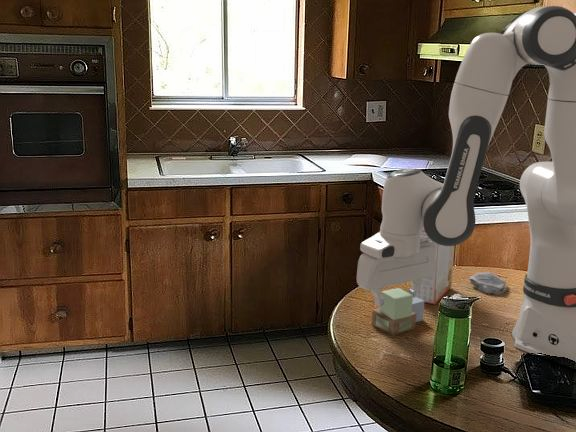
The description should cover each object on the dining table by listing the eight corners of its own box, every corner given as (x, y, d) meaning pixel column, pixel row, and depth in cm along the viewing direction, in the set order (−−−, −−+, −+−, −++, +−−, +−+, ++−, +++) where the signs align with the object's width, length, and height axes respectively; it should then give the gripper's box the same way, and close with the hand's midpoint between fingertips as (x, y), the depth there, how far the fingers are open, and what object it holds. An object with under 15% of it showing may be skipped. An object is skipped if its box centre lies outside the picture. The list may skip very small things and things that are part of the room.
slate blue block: (422, 320, 154) (424, 300, 153) (407, 325, 151) (409, 305, 150) (407, 313, 158) (409, 293, 157) (392, 317, 155) (394, 298, 154)
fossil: (514, 286, 170) (476, 276, 169) (509, 300, 170) (472, 291, 170) (501, 274, 181) (466, 266, 181) (496, 288, 181) (462, 279, 181)
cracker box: (430, 283, 177) (436, 209, 171) (451, 288, 174) (459, 212, 169) (411, 300, 165) (417, 221, 160) (434, 305, 162) (441, 225, 157)
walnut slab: (415, 329, 149) (416, 313, 148) (393, 337, 145) (394, 321, 144) (393, 318, 155) (394, 303, 154) (371, 326, 151) (372, 310, 150)
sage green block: (411, 315, 147) (412, 295, 146) (393, 320, 145) (395, 299, 143) (397, 307, 151) (398, 287, 150) (380, 311, 149) (381, 291, 147)
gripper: (425, 232, 151) (421, 288, 154) (354, 244, 140) (351, 304, 144) (445, 239, 145) (439, 297, 149) (372, 253, 135) (368, 314, 139)
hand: (395, 300), depth 146 cm, fingers open, 8 cm apart
